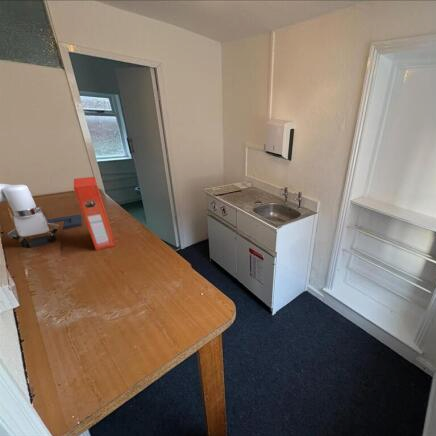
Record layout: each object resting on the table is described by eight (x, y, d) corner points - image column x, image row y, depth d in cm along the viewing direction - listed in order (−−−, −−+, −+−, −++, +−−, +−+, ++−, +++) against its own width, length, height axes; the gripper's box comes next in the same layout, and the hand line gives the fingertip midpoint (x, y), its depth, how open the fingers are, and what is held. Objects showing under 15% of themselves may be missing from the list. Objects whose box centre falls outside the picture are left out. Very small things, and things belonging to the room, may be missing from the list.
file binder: (95, 250, 112) (73, 187, 100) (93, 236, 124) (73, 178, 111) (115, 245, 117) (97, 184, 104) (112, 232, 129) (95, 176, 116)
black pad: (32, 251, 110) (28, 243, 108) (33, 245, 114) (30, 238, 112) (49, 247, 113) (46, 240, 112) (50, 242, 117) (47, 235, 116)
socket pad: (42, 233, 125) (41, 230, 125) (45, 222, 137) (44, 219, 136) (81, 225, 135) (80, 223, 134) (81, 216, 146) (80, 214, 145)
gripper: (52, 205, 114) (65, 236, 121) (-1, 213, 103) (16, 246, 110) (51, 210, 109) (64, 242, 116) (-5, 218, 98) (12, 253, 105)
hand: (40, 244), depth 113 cm, fingers open, 8 cm apart
